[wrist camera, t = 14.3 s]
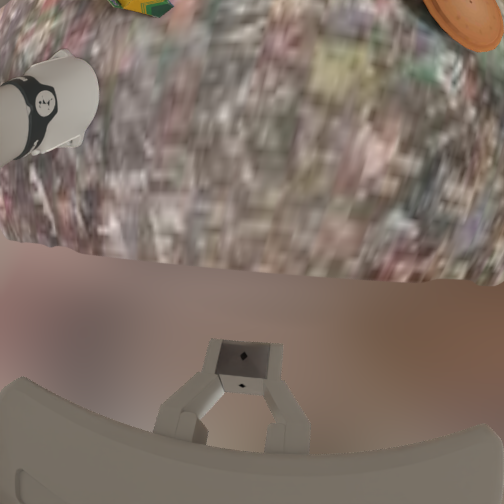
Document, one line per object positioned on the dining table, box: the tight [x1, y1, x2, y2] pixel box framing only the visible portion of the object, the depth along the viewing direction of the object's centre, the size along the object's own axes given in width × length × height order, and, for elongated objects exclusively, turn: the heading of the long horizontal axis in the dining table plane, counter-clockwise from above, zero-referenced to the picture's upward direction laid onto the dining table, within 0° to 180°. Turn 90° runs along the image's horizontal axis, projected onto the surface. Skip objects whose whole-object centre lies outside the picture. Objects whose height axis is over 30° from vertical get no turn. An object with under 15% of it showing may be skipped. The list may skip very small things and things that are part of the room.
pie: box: [423, 0, 504, 52], centre depth 14 cm, size 15×16×5 cm
